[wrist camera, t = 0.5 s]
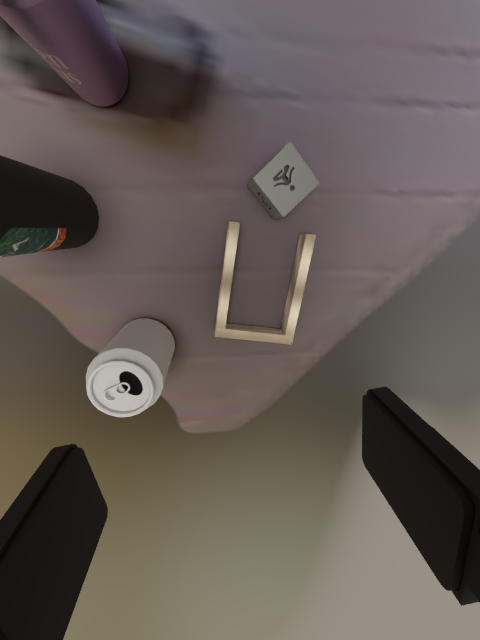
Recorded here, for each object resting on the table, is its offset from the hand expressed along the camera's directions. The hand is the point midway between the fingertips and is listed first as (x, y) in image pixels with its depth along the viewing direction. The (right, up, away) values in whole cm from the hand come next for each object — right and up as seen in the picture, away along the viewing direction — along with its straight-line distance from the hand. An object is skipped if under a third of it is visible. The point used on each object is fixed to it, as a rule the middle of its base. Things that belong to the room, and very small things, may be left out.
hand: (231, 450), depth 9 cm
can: (-12, +1, +28) cm, 31 cm away
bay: (+3, +9, +27) cm, 29 cm away
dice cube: (+5, +20, +24) cm, 32 cm away
